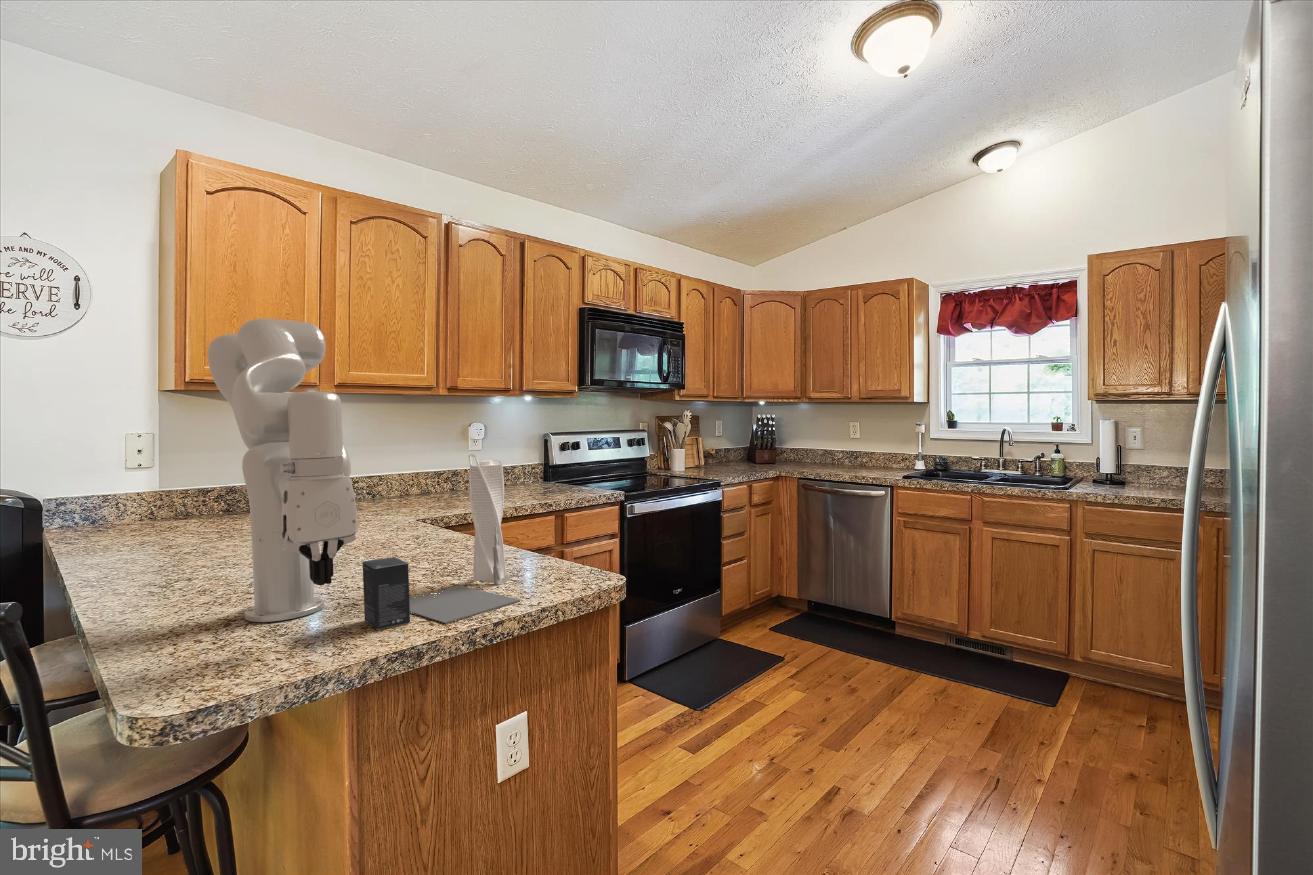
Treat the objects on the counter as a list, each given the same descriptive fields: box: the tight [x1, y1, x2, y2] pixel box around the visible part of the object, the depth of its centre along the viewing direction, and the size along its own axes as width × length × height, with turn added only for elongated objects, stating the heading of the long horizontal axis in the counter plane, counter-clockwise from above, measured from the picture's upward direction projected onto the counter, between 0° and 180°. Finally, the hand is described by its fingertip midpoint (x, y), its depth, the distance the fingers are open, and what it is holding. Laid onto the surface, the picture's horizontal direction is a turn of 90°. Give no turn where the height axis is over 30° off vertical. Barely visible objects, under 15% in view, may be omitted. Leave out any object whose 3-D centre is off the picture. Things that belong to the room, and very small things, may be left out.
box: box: [361, 556, 411, 631], centre depth 106 cm, size 8×6×11 cm
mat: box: [409, 584, 521, 625], centre depth 117 cm, size 20×16×1 cm
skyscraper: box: [468, 453, 514, 586], centre depth 134 cm, size 8×8×28 cm
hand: (322, 583), depth 98 cm, fingers closed
